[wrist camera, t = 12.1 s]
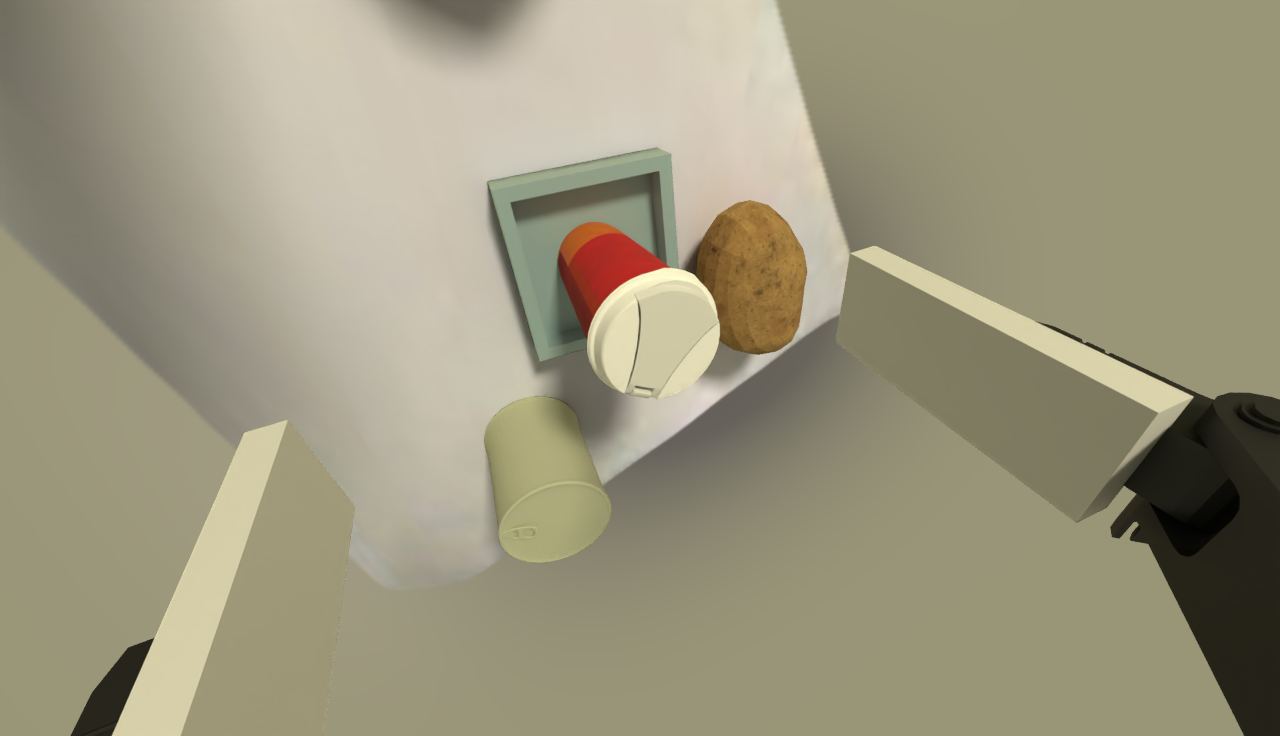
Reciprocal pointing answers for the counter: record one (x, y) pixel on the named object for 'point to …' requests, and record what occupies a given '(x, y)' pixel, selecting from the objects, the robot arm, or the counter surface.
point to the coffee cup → (637, 313)
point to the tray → (563, 200)
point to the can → (544, 481)
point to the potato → (753, 277)
